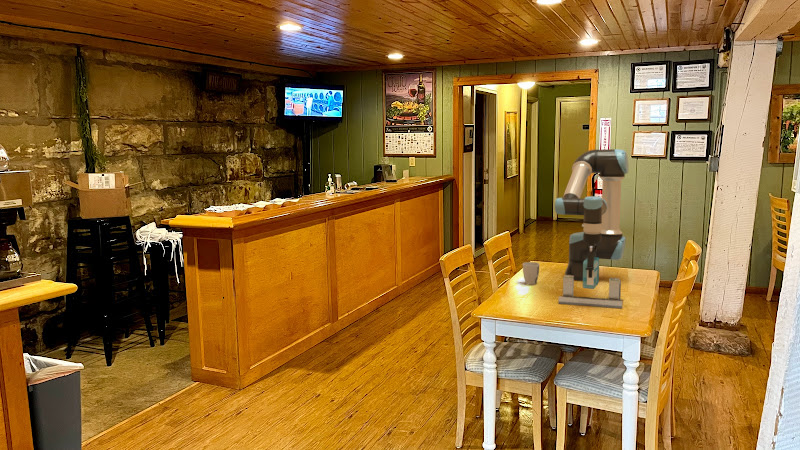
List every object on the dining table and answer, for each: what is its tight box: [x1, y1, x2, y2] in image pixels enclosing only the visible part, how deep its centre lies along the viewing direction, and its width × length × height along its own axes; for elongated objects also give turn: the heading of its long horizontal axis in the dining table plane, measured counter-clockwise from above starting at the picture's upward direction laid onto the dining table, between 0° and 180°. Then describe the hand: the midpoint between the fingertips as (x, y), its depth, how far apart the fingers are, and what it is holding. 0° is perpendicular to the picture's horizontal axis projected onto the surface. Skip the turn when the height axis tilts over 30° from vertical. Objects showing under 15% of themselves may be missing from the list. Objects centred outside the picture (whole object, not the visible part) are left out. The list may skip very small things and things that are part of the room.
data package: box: [582, 257, 600, 290], centre depth 262 cm, size 12×4×12 cm, turn 151°
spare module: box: [619, 280, 622, 300], centre depth 266 cm, size 5×4×8 cm
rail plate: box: [558, 274, 623, 309], centre depth 262 cm, size 10×26×11 cm, turn 69°
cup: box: [522, 261, 540, 286], centre depth 297 cm, size 8×8×10 cm
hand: (591, 281), depth 262 cm, fingers closed on data package, 12 cm apart
